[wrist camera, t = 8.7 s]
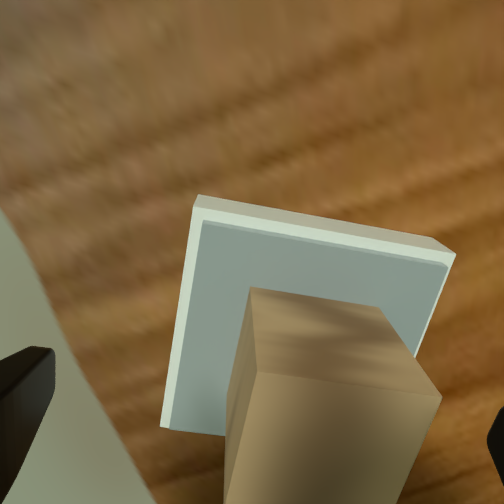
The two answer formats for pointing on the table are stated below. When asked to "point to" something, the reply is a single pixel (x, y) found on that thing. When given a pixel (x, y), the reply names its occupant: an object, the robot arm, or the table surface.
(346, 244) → the pedestal
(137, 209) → the table surface
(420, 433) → the oak cube
